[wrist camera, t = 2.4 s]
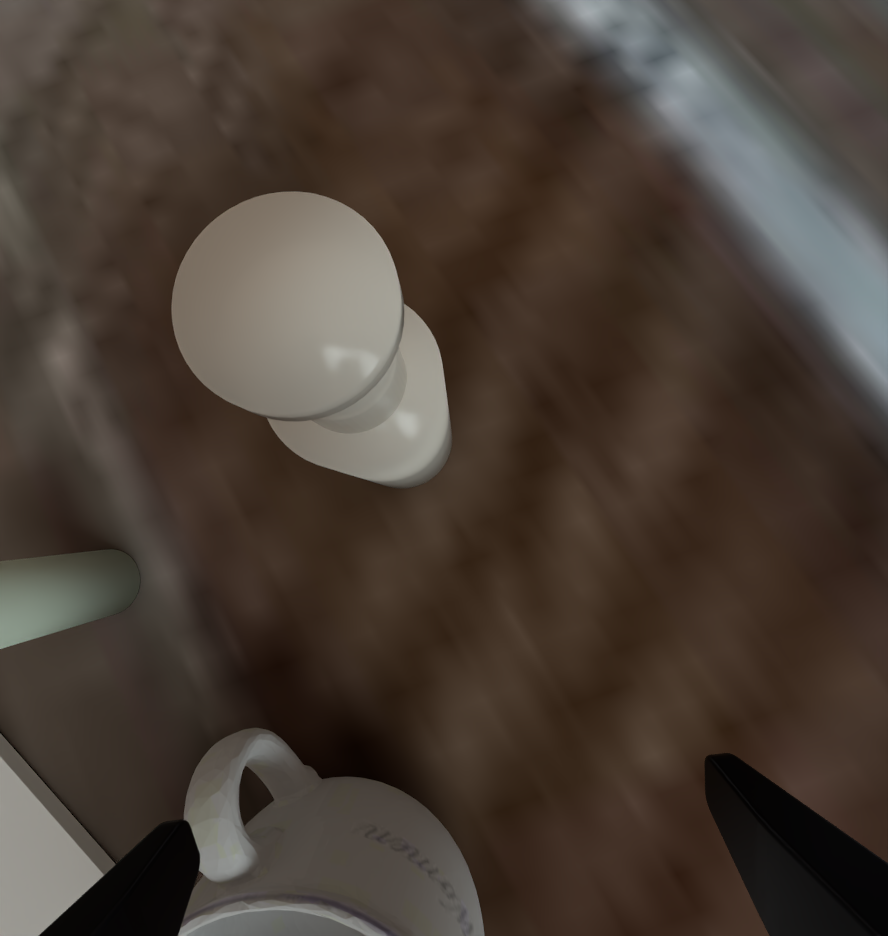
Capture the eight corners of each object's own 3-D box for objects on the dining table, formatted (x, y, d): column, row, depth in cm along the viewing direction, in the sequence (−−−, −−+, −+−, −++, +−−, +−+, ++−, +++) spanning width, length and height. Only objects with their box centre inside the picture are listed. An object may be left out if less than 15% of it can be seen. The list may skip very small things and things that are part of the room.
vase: (472, 435, 20) (493, 286, 7) (404, 509, 20) (286, 509, 7) (400, 370, 21) (282, 108, 7) (332, 442, 21) (82, 311, 7)
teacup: (502, 996, 18) (533, 1379, 10) (244, 1029, 18) (77, 1425, 10) (449, 648, 19) (440, 744, 12) (210, 684, 20) (39, 801, 12)
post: (153, 580, 20) (-47, 626, 12) (106, 629, 20) (-126, 707, 12) (110, 535, 21) (-114, 551, 13) (63, 583, 20) (-191, 631, 12)
